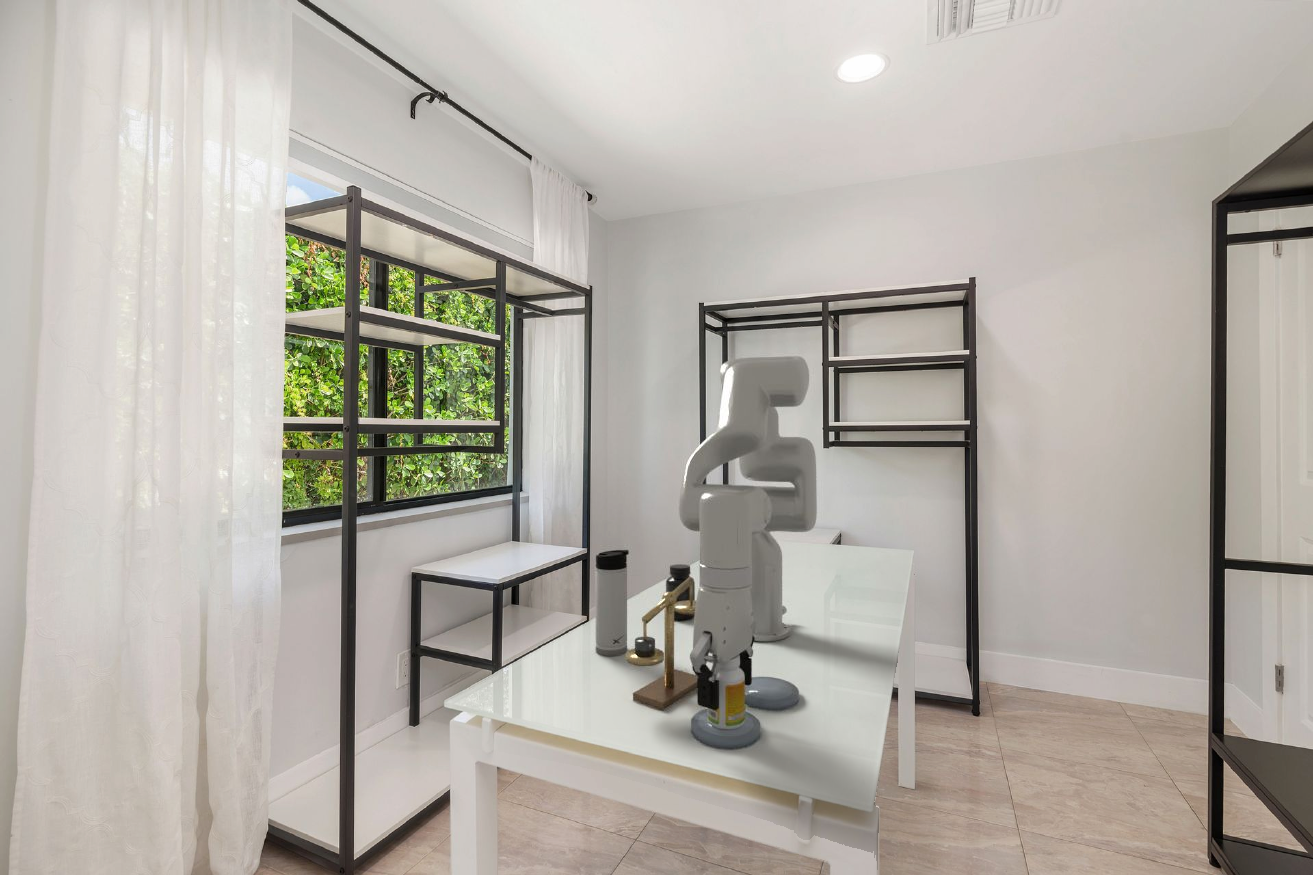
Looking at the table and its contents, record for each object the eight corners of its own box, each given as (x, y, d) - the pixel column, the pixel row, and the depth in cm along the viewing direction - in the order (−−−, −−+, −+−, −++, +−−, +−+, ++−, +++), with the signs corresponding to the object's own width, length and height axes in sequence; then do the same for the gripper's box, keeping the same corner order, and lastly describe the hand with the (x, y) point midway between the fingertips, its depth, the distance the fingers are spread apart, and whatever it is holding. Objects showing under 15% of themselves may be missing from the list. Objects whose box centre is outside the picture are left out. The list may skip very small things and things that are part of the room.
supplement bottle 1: (700, 615, 141) (700, 565, 141) (685, 623, 135) (685, 570, 135) (675, 611, 144) (675, 561, 144) (660, 618, 139) (660, 567, 138)
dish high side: (753, 678, 104) (753, 671, 104) (808, 693, 98) (808, 685, 98) (725, 699, 96) (725, 691, 96) (783, 716, 90) (783, 708, 90)
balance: (686, 668, 109) (686, 571, 108) (714, 676, 105) (714, 575, 105) (618, 708, 93) (617, 594, 93) (648, 719, 89) (648, 600, 89)
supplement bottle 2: (747, 715, 88) (747, 650, 88) (741, 733, 83) (741, 663, 83) (712, 710, 89) (712, 646, 89) (703, 727, 84) (703, 659, 84)
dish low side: (713, 708, 93) (713, 700, 93) (772, 727, 87) (772, 718, 87) (677, 734, 85) (677, 726, 85) (740, 757, 79) (740, 747, 79)
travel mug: (624, 657, 114) (624, 553, 114) (591, 655, 115) (591, 552, 115) (632, 646, 120) (632, 547, 120) (600, 643, 122) (600, 546, 122)
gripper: (731, 562, 95) (731, 669, 95) (670, 584, 81) (670, 710, 81) (774, 568, 91) (774, 680, 91) (718, 593, 77) (718, 725, 77)
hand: (725, 694), depth 86 cm, fingers open, 9 cm apart
